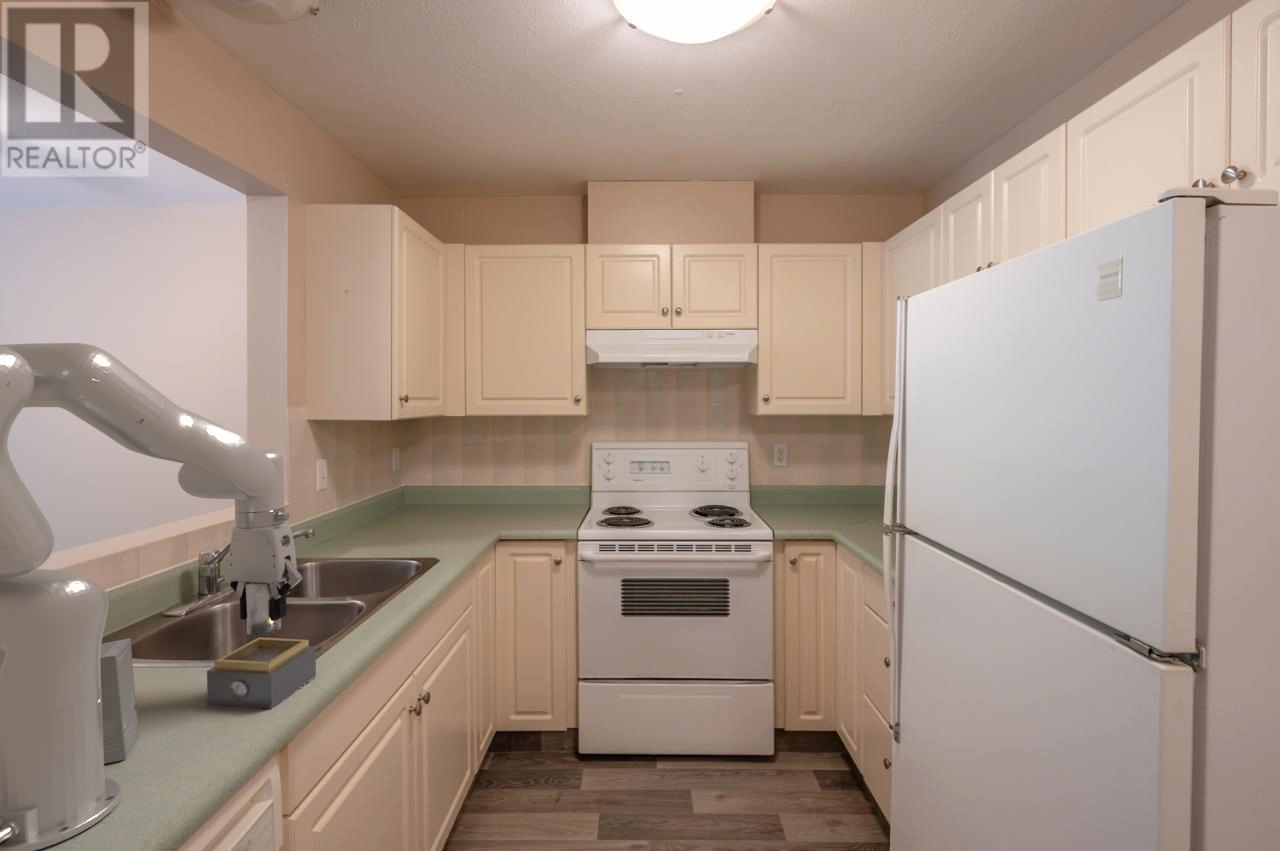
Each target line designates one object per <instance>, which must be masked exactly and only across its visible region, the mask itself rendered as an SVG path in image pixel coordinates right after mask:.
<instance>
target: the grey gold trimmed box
mask: <svg viewBox="0 0 1280 851" xmlns="http://www.w3.org/2000/svg"><path fill="white" fill-rule="evenodd" d="M309 642H310V640H309V639H299V638H298V639H296V638H295V639H294V638H277V637H260V636H259V637H257V638H255V639H253V640H251V641H250V642H248V643H246V644H244V645H241V646H240V647H238V648H237V649H235V650H232V651H231V652H229V653H227V654H226V655H224V656H221V657H220V658H218V659H215V660H214V666H213V667H212V668H210V669H208V670H206V682H207V683H206V686H207V688H206V689H207V705H208V706H219V707H222V706H223V707H233V708H234V707H237V708H250V709H265V710H272V708H273V709H274V708H276V707H277V706H278V705H279V703H280V704H281V703H282V702H284V701H285V700H286V699H288V698H289V697H291V696H292V695H294V694H295V693H296V692H297V691H296V690H298V689H299V688H300V687H302V686H303V685H304V684H305V683H307V682H308V681H310V680H311V679H312V678H313V677H315V676H316V677H317V667H316V666H317V665H316V664H317V662H316V660H317V656H316V646H313V645H311V646H310V644H309ZM310 682H311V681H310ZM307 684H308V683H307ZM303 687H304V686H303ZM303 687H302V688H303ZM300 689H301V688H300ZM300 689H299V690H300ZM299 690H298V691H299ZM295 691H296V692H295ZM294 692H295V693H294ZM291 694H292V695H291ZM290 695H291V696H290ZM287 697H288V698H287ZM284 699H285V700H284ZM283 700H284V701H283ZM276 705H277V706H276Z"/></svg>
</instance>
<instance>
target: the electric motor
mask: <svg viewBox="0 0 1280 851" xmlns="http://www.w3.org/2000/svg"><path fill="white" fill-rule="evenodd" d="M278 586H279V589H280V585H279V583H278ZM271 599H273V595H272V592H271V589H270V586H269V583H256V582H254V583H251V582H246V612H247V619H246V633H247V635H250V636H264V635H268V634H272V633H275V632H277V631H278V630H280V629H281V628H282V618H280V619H278V620H276V621H271V617H270V600H271Z"/></svg>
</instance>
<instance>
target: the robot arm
mask: <svg viewBox="0 0 1280 851" xmlns="http://www.w3.org/2000/svg"><path fill="white" fill-rule="evenodd" d="M24 408H25V409H26V408H59V409H63V410H66V411H67V412H69V413H70V414H72V415H74V416H75V417H77V418H79V420H81V421H83V422H85V423H86V424H88V425H90V426H91V427H93V428H94V429H96V430H97V431H99V432H101V433H102V434H104V435H105V436H107V437H108V438H109V439H112V440H113V441H114V442H115V443H118V444H119V445H121V446H122V447H124V448H126V449H127V450H129V451H130V452H131V451H132V452H134V453H138V454H142V455H144V456H147V457H150V458H151V457H152V458H154V459H157V460H158V459H159V460H165V461H169V462H175V463H180V464H182V465H181V467H180V469H179V471H178V474H177V480H178V481H177V482H178V484H179V486H180V488H181V489H182V490H183V491H184V492H185V493H186V494H188V495H191V496H193V497H195V498H201V499H212V500H213V499H214V500H219V499H220V500H224V499H225V500H234V519H235V520H234V522H235V524H234V525H235V526H234V527H233V528H232V533H231V536H230V542H229V543H230V545H229V554H228V555H229V556H228V557H229V560H228V561H229V562H228V563H229V564H228V568H226V570H225V572H224V573H223V574H222V579H223V580H224V581H225V582H226V583H227V584H228V585H229V586H230V588H231V589H232V590H233V591H234V592H235V596H236V598H239V616H240V620H247V612H246V582H251V583H254V582H256V583H269V586H270V589H271V592H272V595H273V599H271V600H270V617H271V621H276V620H278V619H280V618H281V619H282V618H284V617H286V615H287V608H288V607H287V595H288V594H290V593H291V591H292V590H293V589H294V587H295V586H296V585H298V584H299V583H300V582H302V580H303V578H304V577H303V575H302V574H301V573H300V572H299V571H298V569H297V568H298V567H297V556H296V554H297V553H296V547H295V541H294V535H293V532H292V528H291V526H290V523H289V524H288V523H286V522H288V521H289V520H290V513H288V512H285V510H286V508H285V478H284V475H285V474H284V458H283V454H282V453H281V452H280V451H278V450H275V449H274V450H273V449H260V448H259V447H258V446H257V445H256V444H254V443H253V442H252V441H251V440H249V439H248V438H246V437H245V436H243V435H241V433H238V432H236V431H234V430H233V429H230V428H229V427H226V426H224V425H221V424H219V423H217V422H215V421H214V420H213V421H212V420H210V419H209V418H208V419H207V418H206V417H203V416H202V415H199V414H198V413H195V412H192V411H190V410H187V409H186V408H185V409H184V408H183V407H182V406H179V405H177V404H176V403H175V402H173V401H172V400H170V399H169V398H168V397H167V396H166V395H164V394H163V393H161V392H160V391H159V390H158V389H156V388H155V387H154V386H152V385H151V384H150V383H148V382H147V381H146V380H145V379H144V378H142V377H141V376H139V374H137V373H136V372H135V371H134V370H132V369H131V368H129V367H128V366H127V365H126V364H124V363H123V362H122V361H120V359H118V358H117V357H115V356H114V355H112V354H111V353H110V352H108V351H106V350H105V349H103V348H101V347H98V346H96V345H92V344H88V343H78V342H54V343H53V342H49V343H48V342H47V343H46V342H44V343H43V342H42V343H41V342H39V343H14V344H12V343H11V344H0V650H4V659H3V662H2V664H1V665H0V851H39V850H41V849H44V848H48V847H50V846H54V845H56V844H58V843H61V842H63V841H66V840H68V839H70V838H72V837H74V836H76V835H78V834H80V833H82V832H84V831H85V830H86V831H87V829H89V828H91V827H92V826H94V825H95V824H97V823H98V822H100V821H101V820H102V819H104V818H105V817H106V816H108V814H110V813H111V812H112V811H113V810H114V808H115V807H116V806H117V805H118V804H119V802H120V800H121V797H122V789H121V788H122V785H120V783H119V782H118V781H116V780H114V779H109V778H106V777H105V775H106V774H105V764H104V746H103V719H102V692H101V668H100V659H101V645H102V642H103V638H104V637H103V636H104V632H105V627H106V623H107V622H106V621H107V619H108V618H107V617H108V613H109V598H108V594H107V591H106V590H105V588H104V587H103V586H102V584H100V582H98V581H97V580H95V579H94V578H92V577H90V576H88V575H86V574H83V573H79V572H77V571H76V572H75V571H70V570H57V569H46V568H44V569H43V568H39V567H41V566H42V565H44V564H45V563H46V562H47V560H49V558H50V557H51V555H52V553H53V550H54V546H55V535H54V533H53V530H52V527H51V525H50V522H49V521H48V520H47V518H46V517H45V515H44V513H43V512H42V510H41V508H40V507H39V505H38V504H37V502H36V501H35V499H34V498H33V496H32V494H31V492H30V491H29V489H28V487H26V485H25V483H24V481H23V480H22V478H21V476H20V475H19V473H18V471H17V469H16V467H15V465H14V463H13V462H12V460H11V457H10V453H9V451H8V450H9V449H8V440H9V439H8V438H9V435H10V431H11V429H12V427H13V425H14V422H15V421H16V419H17V417H18V416H19V415H20V414H21V412H22V410H23V409H24ZM287 578H288V581H287ZM278 583H279V585H280V589H279V586H278Z"/></svg>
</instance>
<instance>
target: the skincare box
mask: <svg viewBox="0 0 1280 851" xmlns="http://www.w3.org/2000/svg"><path fill="white" fill-rule="evenodd" d="M132 651H133V650H132V638H130V637H129V638H124V639H119V640H113V641H108V642H103V643H102V645H101V659H100V668H101V692H102V719H103V746H104V765H105V764H109V763H114V762H118V761H124V760H126V759H127V757H128V755H129V753H130V751H131V749H132V748H133V746H134V744H135V742H136V740H137V738H138V735H139V722H138V720H139V719H138V711H137V710H138V709H137V701H136V700H137V699H136V686H135V675H134V674H135V673H134V664H133V663H134V662H133V654H132V653H133V652H132Z"/></svg>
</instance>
